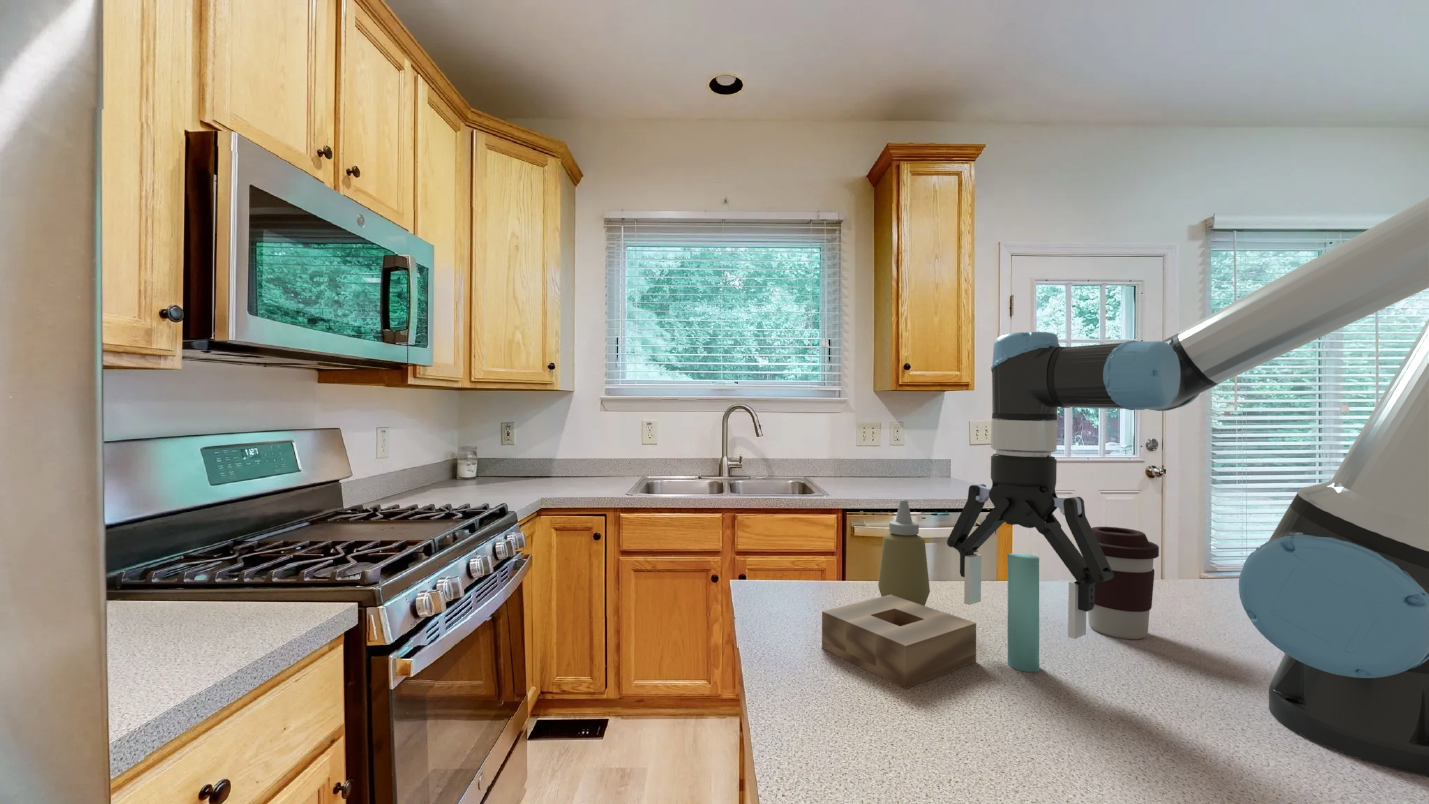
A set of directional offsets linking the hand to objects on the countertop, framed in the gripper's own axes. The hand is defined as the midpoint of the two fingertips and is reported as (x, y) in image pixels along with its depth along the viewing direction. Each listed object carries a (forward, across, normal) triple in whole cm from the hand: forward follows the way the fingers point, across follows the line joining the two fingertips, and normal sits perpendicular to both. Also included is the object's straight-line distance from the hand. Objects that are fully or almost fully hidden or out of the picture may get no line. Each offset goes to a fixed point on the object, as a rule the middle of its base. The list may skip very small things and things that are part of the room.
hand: (1020, 618), depth 76 cm
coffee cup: (+6, -1, -24) cm, 25 cm away
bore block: (+6, +11, +11) cm, 16 cm away
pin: (+6, 0, 0) cm, 6 cm away
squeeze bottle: (+7, +22, -4) cm, 23 cm away
